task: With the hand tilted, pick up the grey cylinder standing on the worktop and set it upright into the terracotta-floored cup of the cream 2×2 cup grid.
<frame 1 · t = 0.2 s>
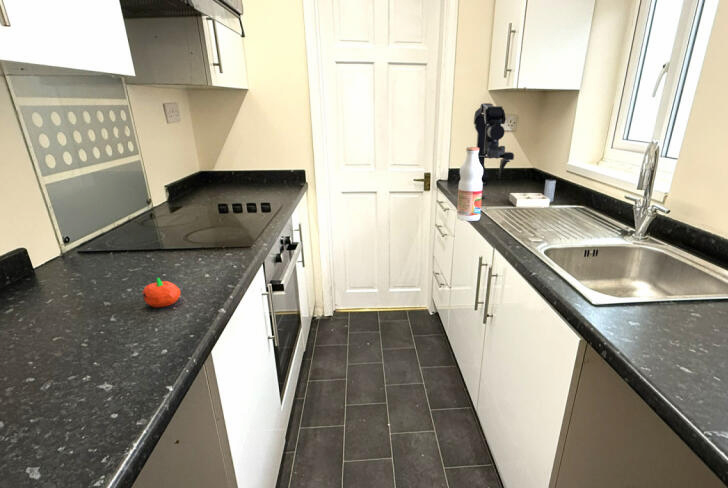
hand: (488, 176, 178), 15 cm above the counter, tool pointing down, fingers open, 9 cm apart
grey cylinder: (547, 201, 200), on the counter
pumpkin: (165, 305, 94), on the counter
fruit juice: (468, 219, 168), on the counter
grid: (528, 203, 195), on the counter
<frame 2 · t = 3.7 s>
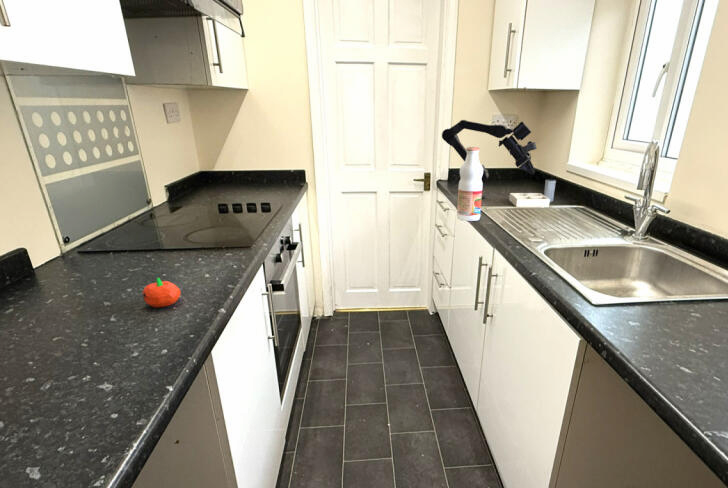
hand: (534, 172, 196), 14 cm above the counter, tool tilted 45°, fingers open, 9 cm apart
nothing on the counter moved.
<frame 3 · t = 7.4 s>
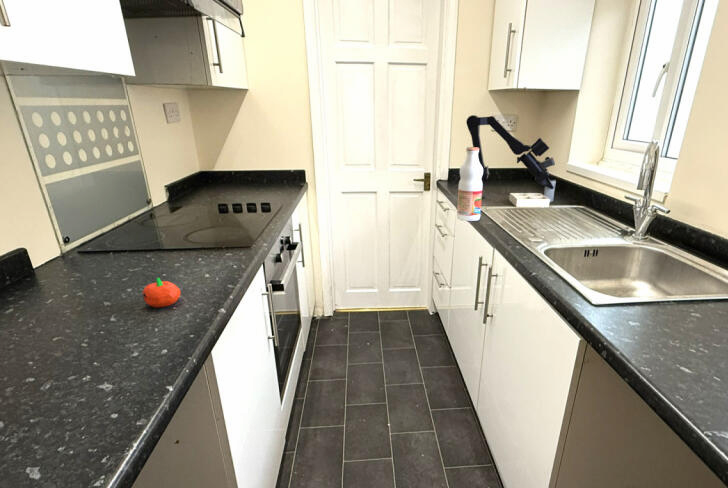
hand: (552, 187, 197), 7 cm above the counter, tool tilted 45°, fingers closed on grey cylinder, 4 cm apart
grey cylinder: (547, 201, 200), on the counter, touching gripper
everything else where it was.
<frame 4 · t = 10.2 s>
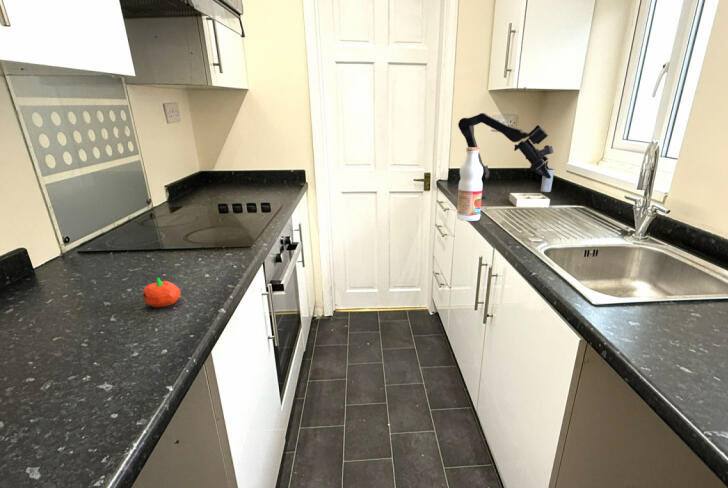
hand: (550, 177, 191), 12 cm above the counter, tool tilted 45°, fingers closed on grey cylinder, 4 cm apart
grey cylinder: (545, 191, 194), point 5 cm above the counter, touching gripper
everything else where it was.
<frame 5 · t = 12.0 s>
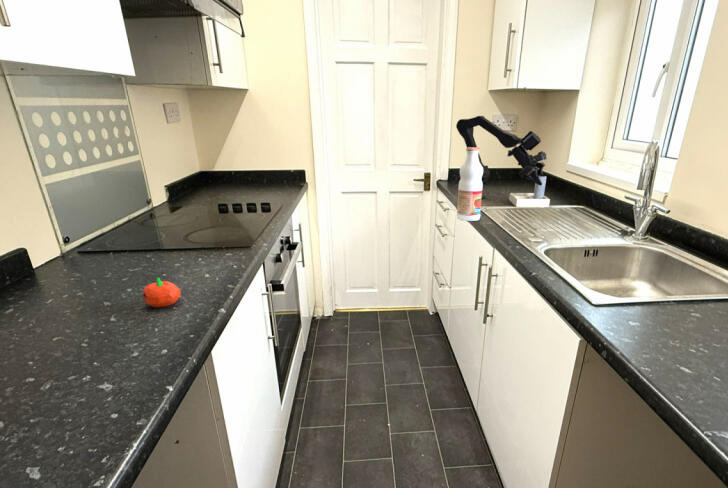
hand: (543, 184, 188), 10 cm above the counter, tool tilted 45°, fingers closed on grey cylinder, 4 cm apart
grey cylinder: (538, 198, 191), point 3 cm above the counter, touching gripper
everything else where it was.
when the fingers open (7 cm above the counter, at t = 13.1 s): grey cylinder stays where it is, resting on grid.
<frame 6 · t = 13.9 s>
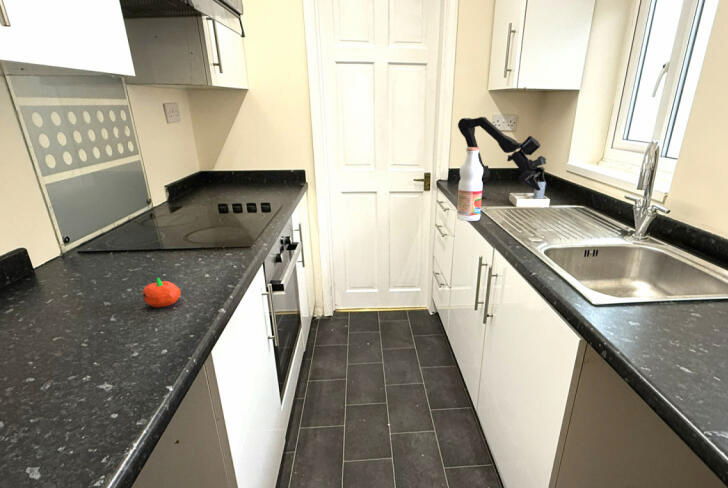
hand: (543, 188, 188), 8 cm above the counter, tool tilted 45°, fingers open, 9 cm apart
grey cylinder: (537, 203, 192), point 1 cm above the counter, touching grid
everything else where it was.
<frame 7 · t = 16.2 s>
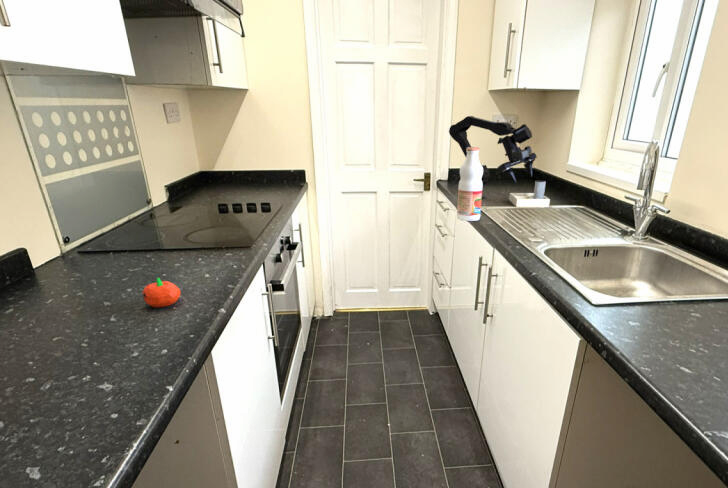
hand: (523, 179, 191), 11 cm above the counter, tool tilted 30°, fingers open, 9 cm apart
nothing on the counter moved.
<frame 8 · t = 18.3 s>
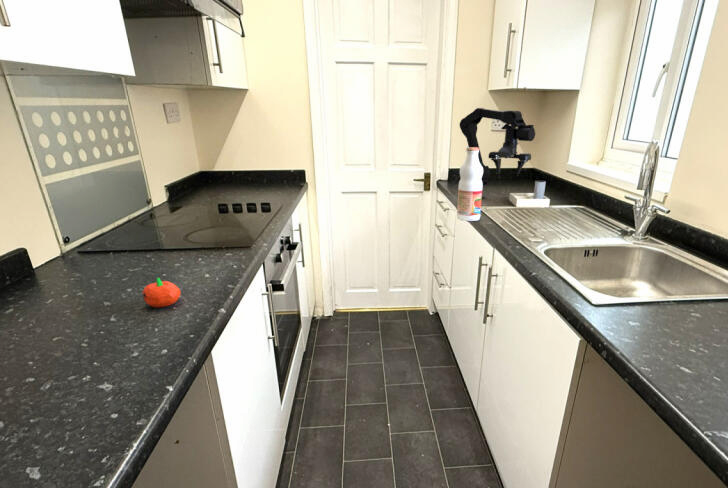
hand: (507, 174, 193), 13 cm above the counter, tool pointing down, fingers open, 9 cm apart
nothing on the counter moved.
at the end: grey cylinder 0.2 cm from the target spot in the grid, point 0.6 cm above the grid's base; grey cylinder tilted 0°; the gripper is holding nothing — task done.
